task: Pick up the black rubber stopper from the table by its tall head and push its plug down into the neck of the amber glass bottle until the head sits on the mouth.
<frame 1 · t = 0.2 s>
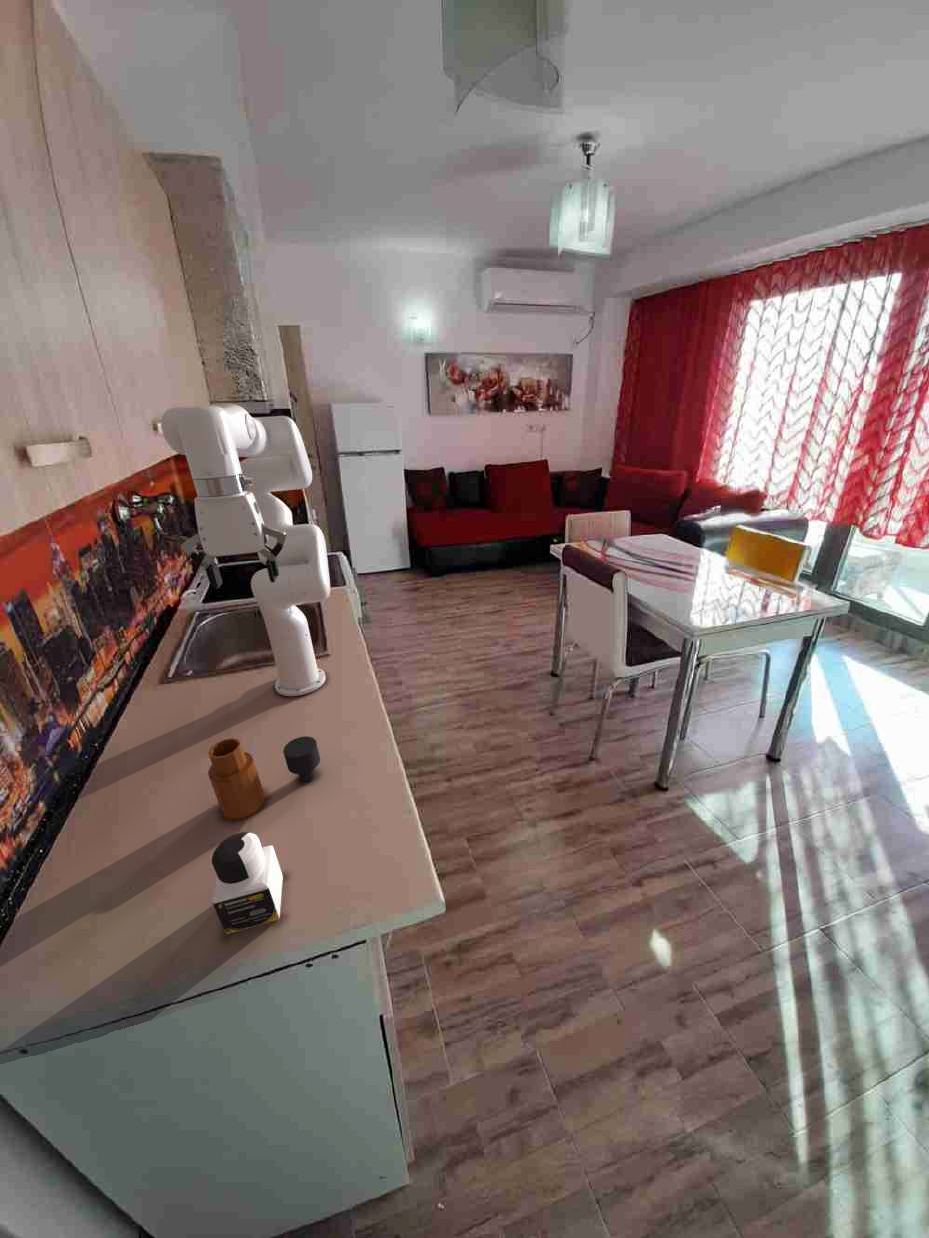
hand: (246, 583, 86), 37 cm above the worktop, tool pointing down, fingers open, 9 cm apart
medicine bottle: (256, 905, 69), on the worktop
amber bottle: (243, 803, 87), on the worktop
stopper: (307, 776, 92), on the worktop
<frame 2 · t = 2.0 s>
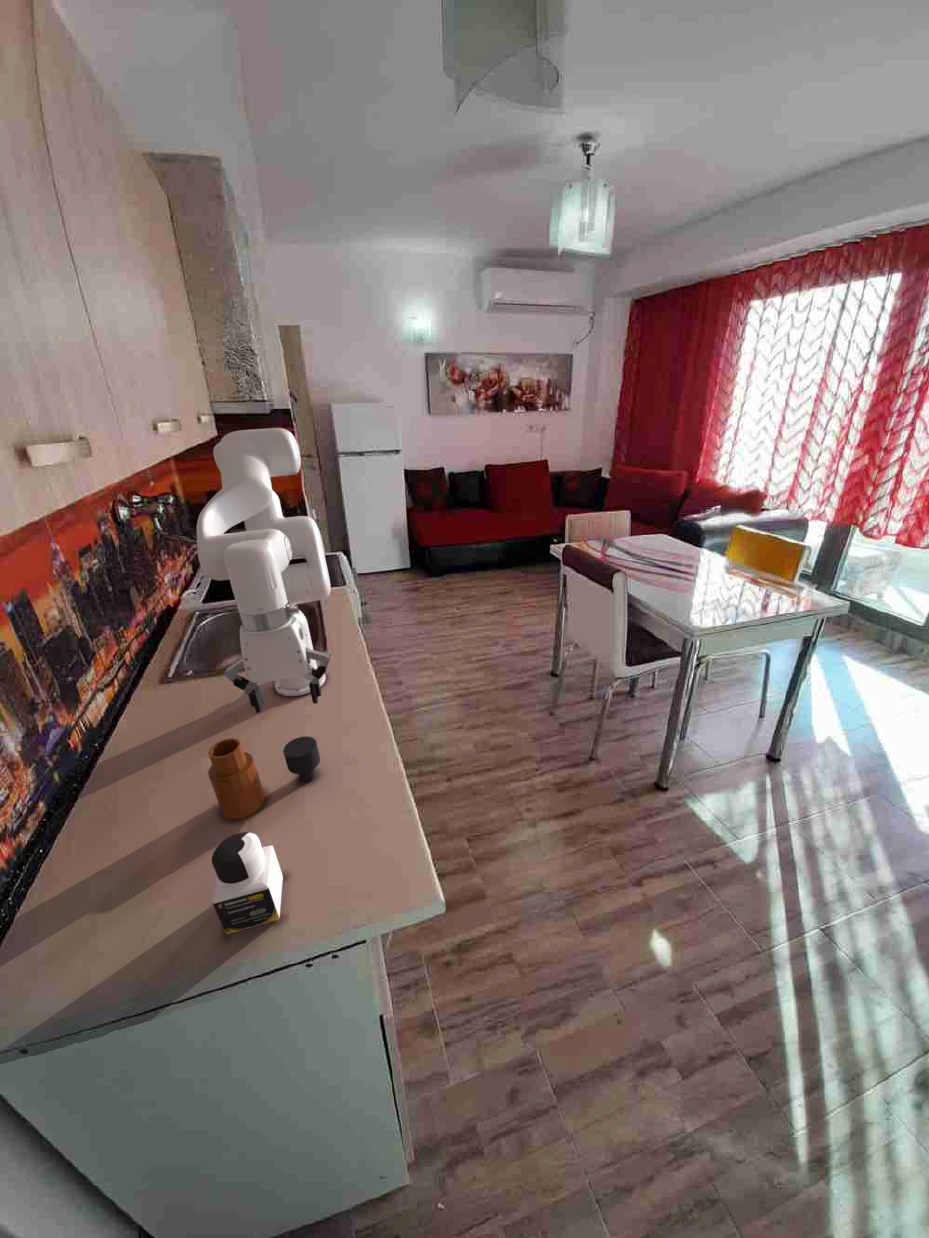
hand: (288, 703, 84), 17 cm above the worktop, tool pointing down, fingers open, 9 cm apart
nothing on the worktop moved.
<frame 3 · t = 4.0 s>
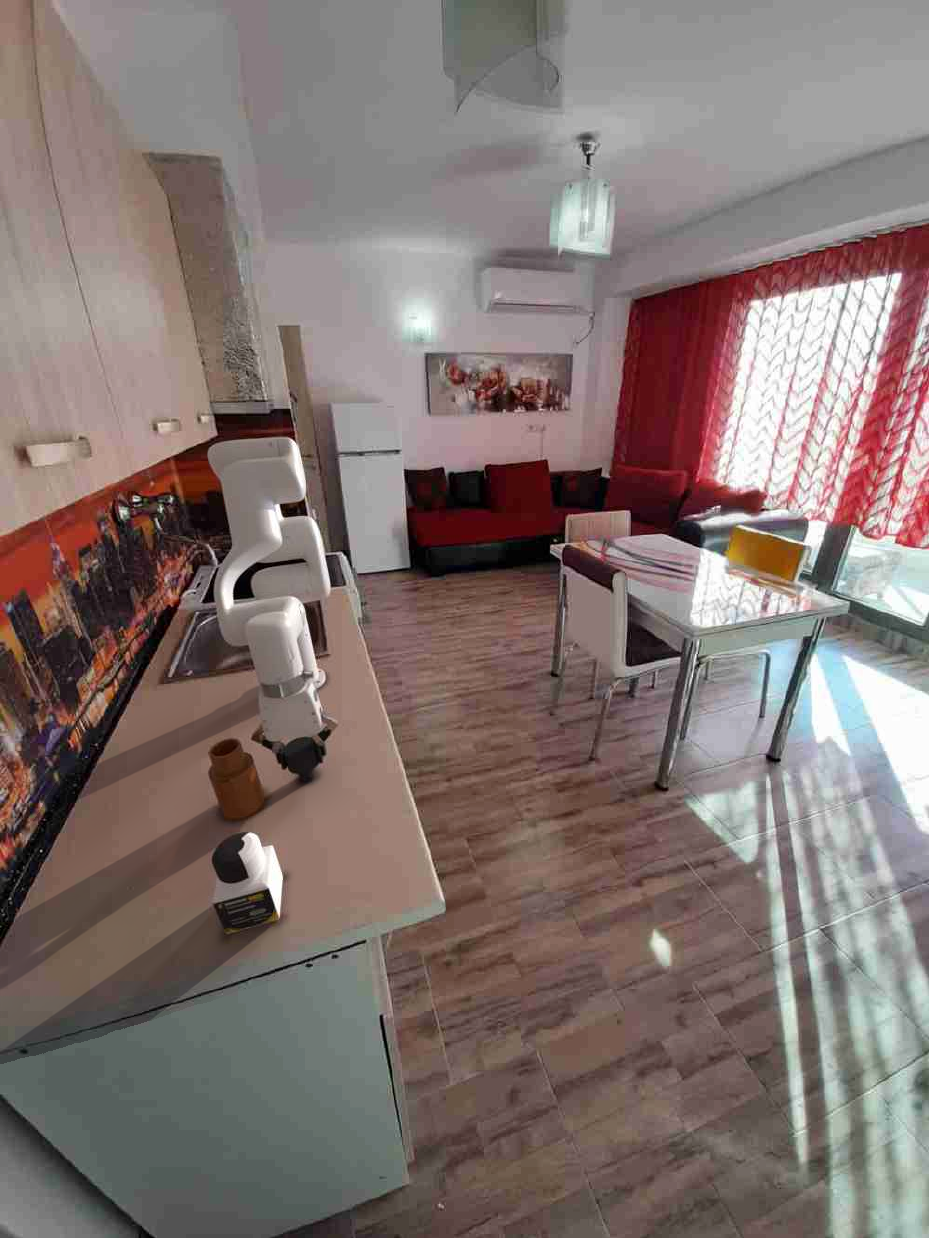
hand: (303, 760, 90), 4 cm above the worktop, tool pointing down, fingers closed on stopper, 6 cm apart
stopper: (307, 777, 92), on the worktop, touching gripper
everything else where it was.
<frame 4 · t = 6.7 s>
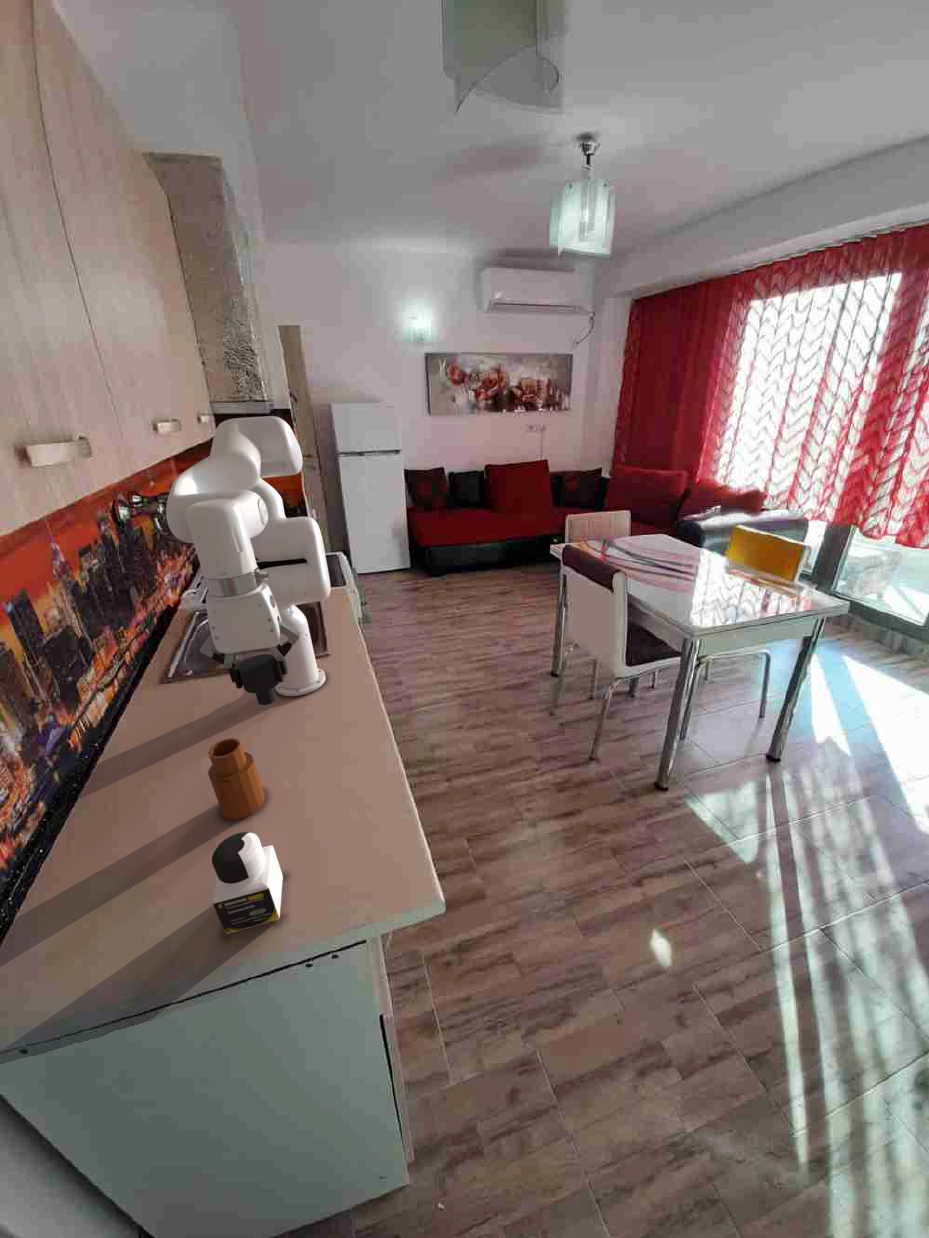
hand: (261, 680, 81), 23 cm above the worktop, tool pointing down, fingers closed on stopper, 6 cm apart
stopper: (267, 700, 82), point 19 cm above the worktop, touching gripper
everything else where it was.
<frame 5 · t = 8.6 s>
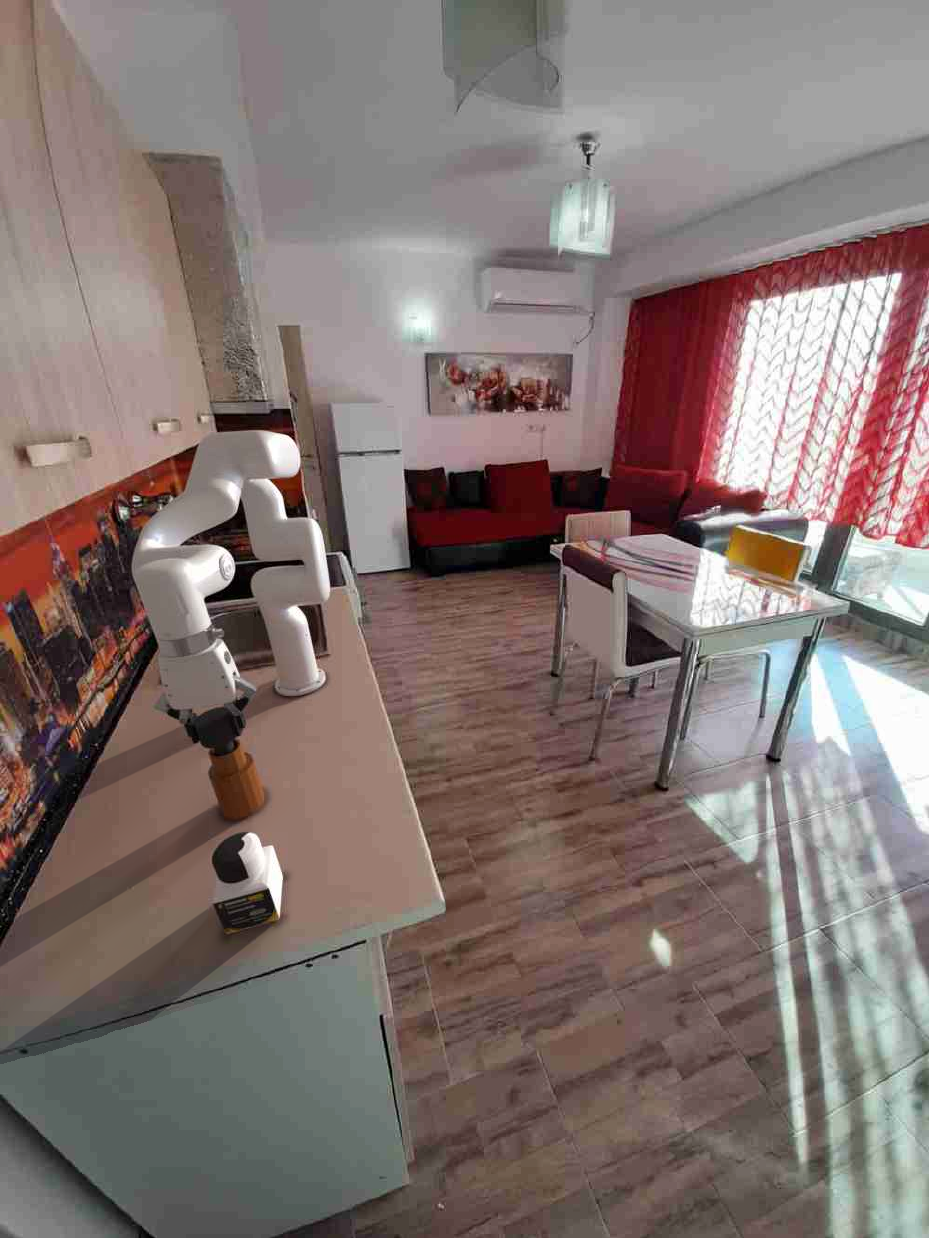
hand: (219, 733, 80), 16 cm above the worktop, tool pointing down, fingers closed on stopper, 6 cm apart
stopper: (225, 753, 81), point 12 cm above the worktop, touching gripper
everything else where it was.
when the fingers open (14 cm above the worktop, at t = 9.8 s): stopper stays where it is, resting on amber bottle.
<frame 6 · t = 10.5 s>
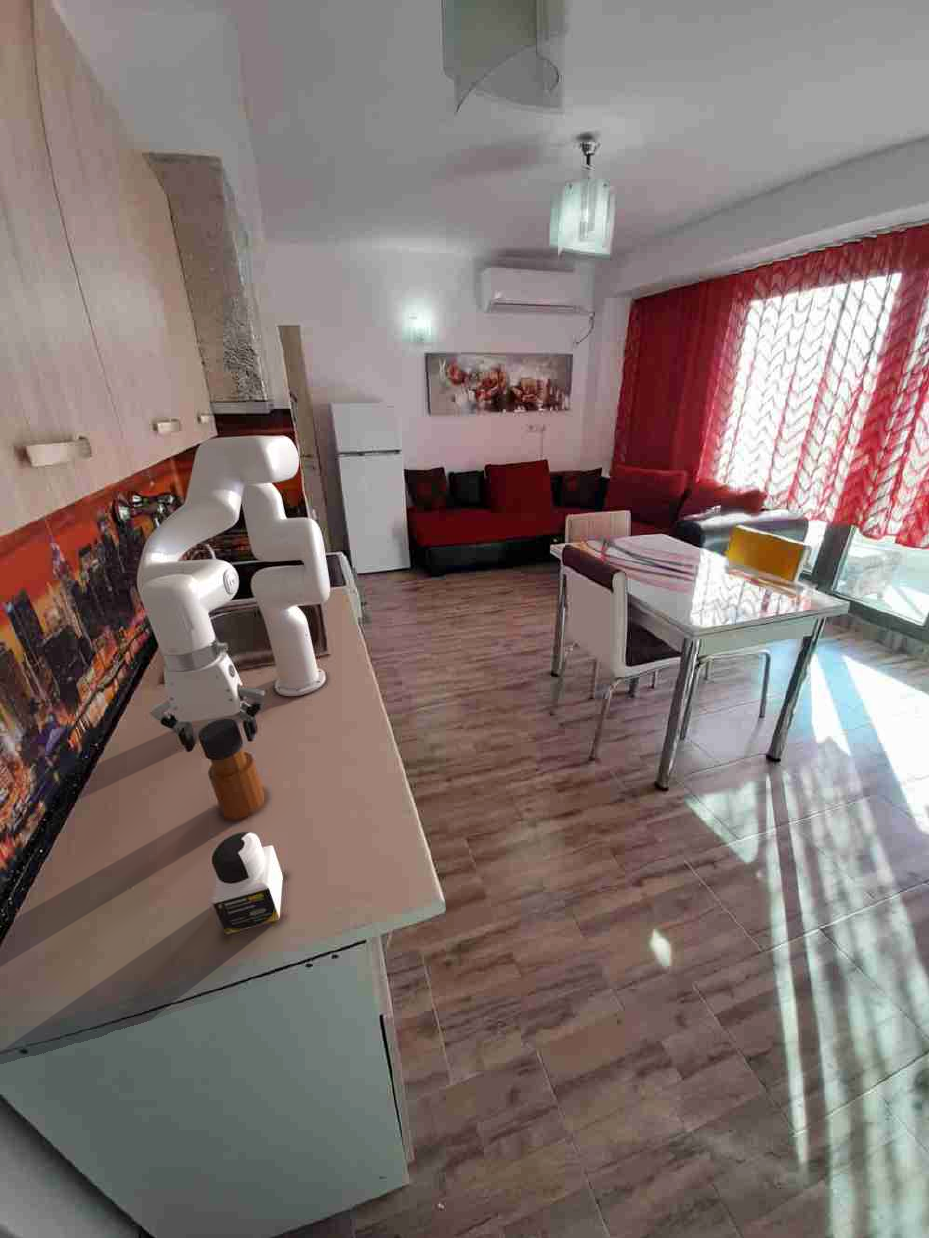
hand: (222, 741, 81), 14 cm above the worktop, tool pointing down, fingers open, 9 cm apart
stopper: (229, 764, 82), point 9 cm above the worktop, touching amber bottle
everything else where it was.
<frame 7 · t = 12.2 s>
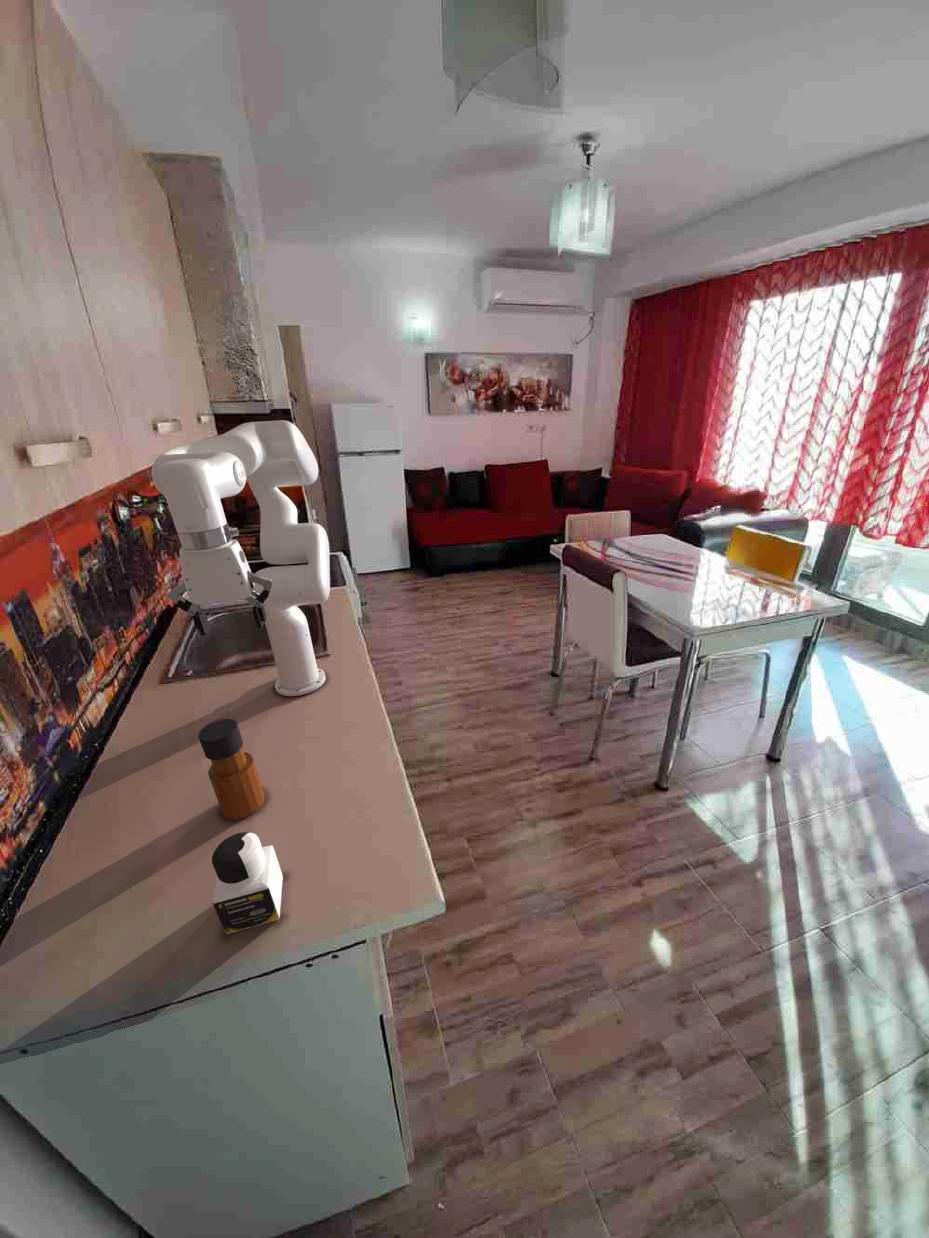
hand: (233, 628, 86), 29 cm above the worktop, tool pointing down, fingers open, 9 cm apart
nothing on the worktop moved.
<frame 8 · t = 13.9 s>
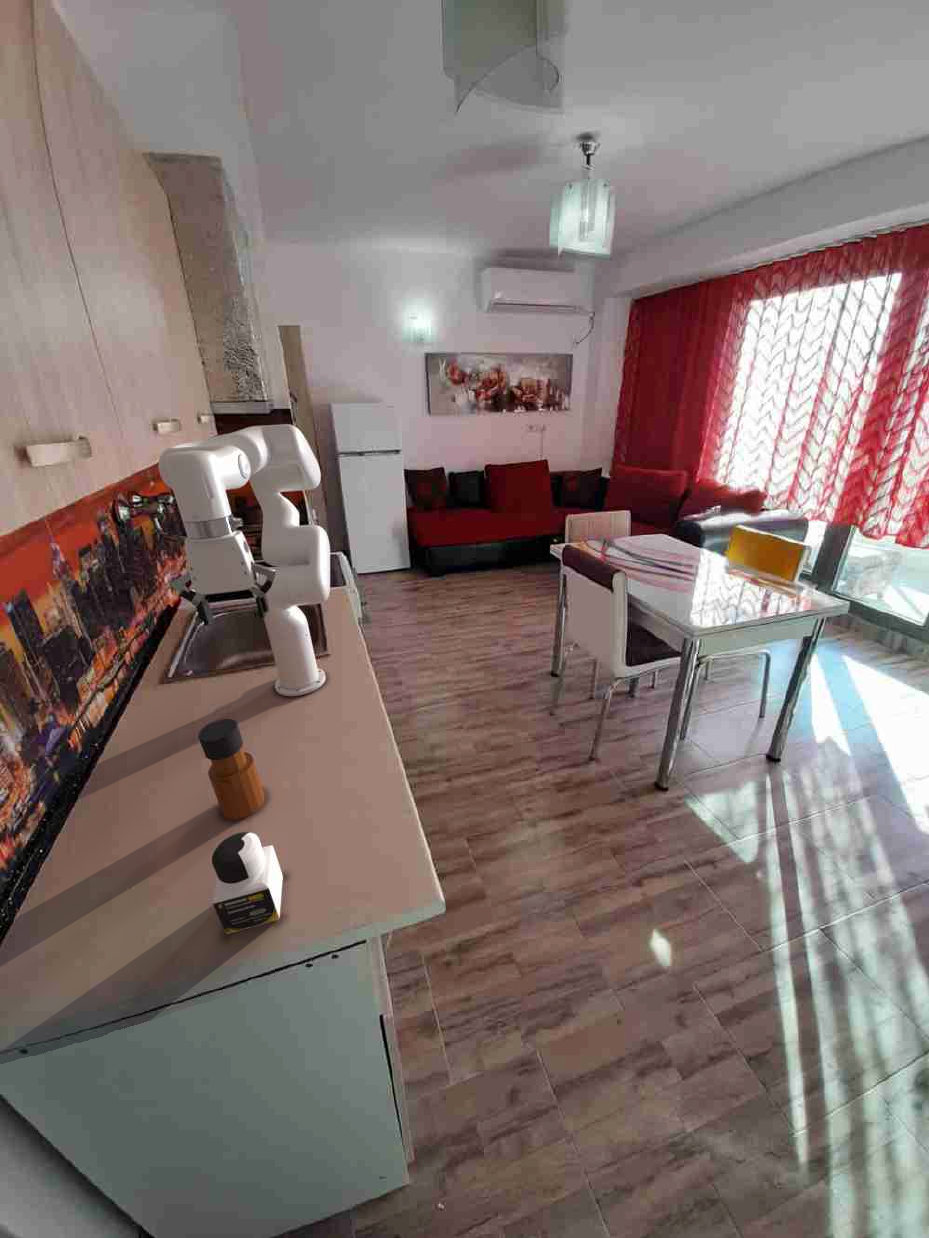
hand: (236, 618, 88), 30 cm above the worktop, tool pointing down, fingers open, 9 cm apart
nothing on the worktop moved.
at the end: stopper 0.1 cm off-centre in the amber bottle, point 9.5 cm above the amber bottle's base; stopper tilted 0°; the gripper is holding nothing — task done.
